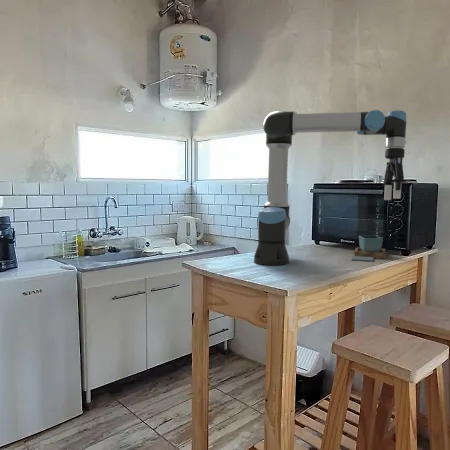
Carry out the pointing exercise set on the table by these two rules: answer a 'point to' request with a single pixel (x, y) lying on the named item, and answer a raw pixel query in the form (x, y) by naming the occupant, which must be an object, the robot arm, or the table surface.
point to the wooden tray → (371, 253)
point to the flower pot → (370, 243)
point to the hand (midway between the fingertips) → (392, 199)
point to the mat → (362, 258)
